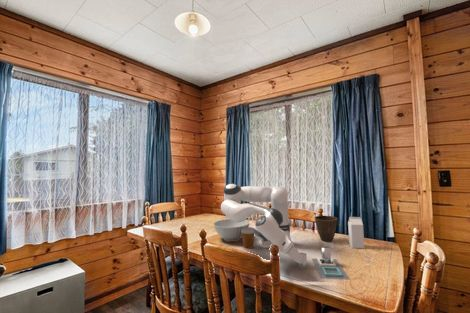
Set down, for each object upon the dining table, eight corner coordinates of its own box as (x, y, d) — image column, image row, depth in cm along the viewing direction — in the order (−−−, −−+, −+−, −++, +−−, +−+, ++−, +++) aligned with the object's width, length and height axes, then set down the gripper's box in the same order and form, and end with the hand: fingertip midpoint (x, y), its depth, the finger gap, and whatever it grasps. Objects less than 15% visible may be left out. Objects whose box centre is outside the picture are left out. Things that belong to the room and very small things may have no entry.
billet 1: (298, 271, 117) (297, 255, 117) (297, 267, 121) (297, 252, 122) (307, 272, 116) (307, 255, 116) (306, 268, 120) (305, 252, 121)
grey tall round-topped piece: (322, 265, 120) (322, 249, 121) (321, 261, 125) (320, 246, 125) (332, 265, 120) (331, 249, 120) (329, 261, 124) (329, 246, 124)
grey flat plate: (320, 281, 106) (320, 275, 106) (311, 261, 129) (311, 256, 129) (350, 282, 104) (350, 277, 104) (336, 262, 127) (336, 257, 127)
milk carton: (364, 248, 146) (362, 218, 147) (352, 248, 147) (350, 218, 148) (360, 244, 153) (359, 216, 154) (349, 244, 154) (347, 215, 155)
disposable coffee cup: (247, 243, 162) (246, 226, 162) (258, 246, 156) (257, 228, 156) (238, 247, 154) (238, 229, 155) (250, 250, 148) (249, 231, 149)
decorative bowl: (250, 244, 159) (250, 227, 160) (212, 245, 160) (211, 227, 160) (249, 233, 186) (248, 218, 187) (216, 234, 186) (215, 219, 187)
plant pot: (335, 245, 153) (334, 221, 154) (312, 241, 162) (311, 218, 163) (340, 239, 165) (339, 217, 166) (319, 236, 174) (318, 214, 175)
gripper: (273, 239, 128) (291, 256, 129) (283, 253, 108) (304, 273, 108) (281, 231, 129) (298, 248, 129) (292, 243, 109) (313, 263, 109)
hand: (301, 259), depth 119 cm, fingers open, 8 cm apart
